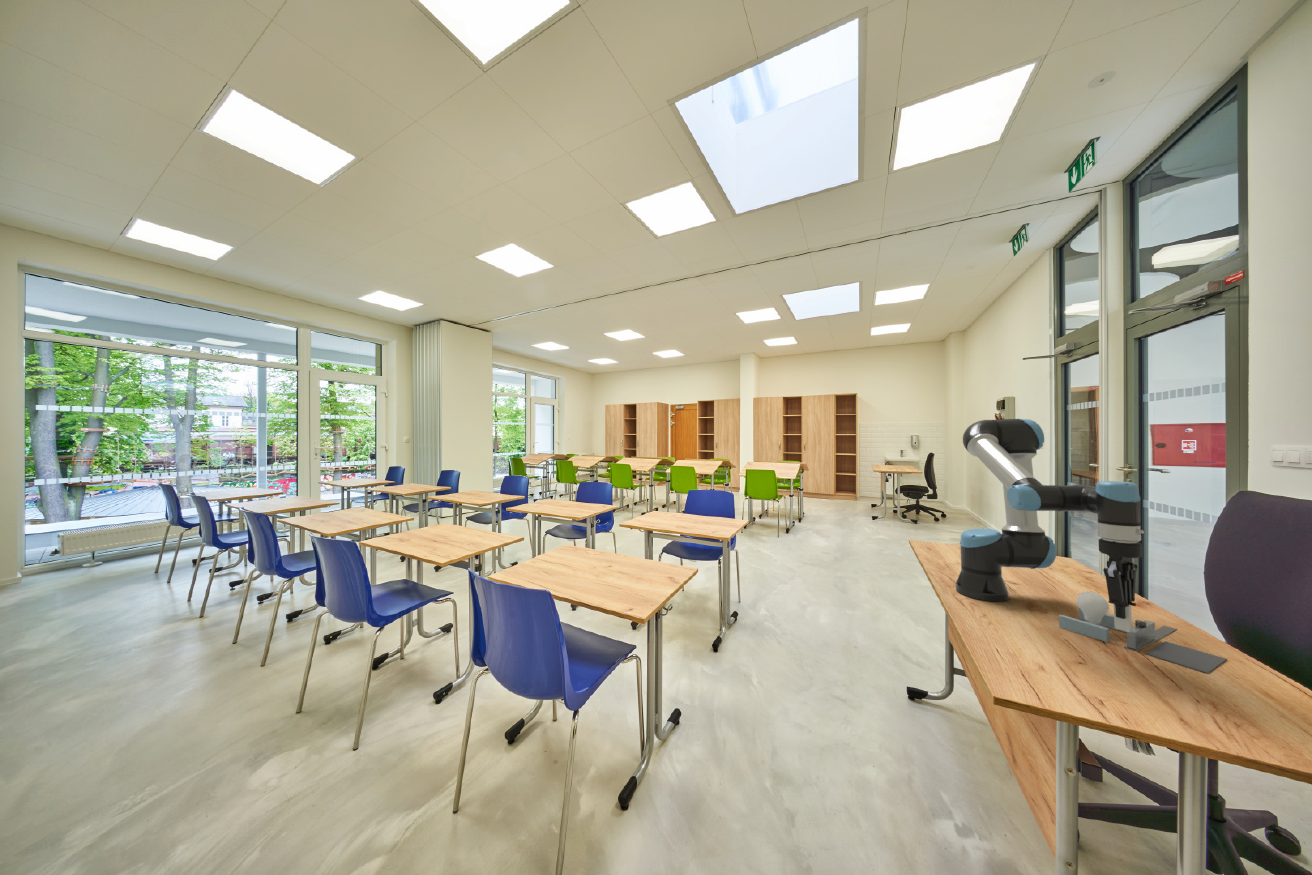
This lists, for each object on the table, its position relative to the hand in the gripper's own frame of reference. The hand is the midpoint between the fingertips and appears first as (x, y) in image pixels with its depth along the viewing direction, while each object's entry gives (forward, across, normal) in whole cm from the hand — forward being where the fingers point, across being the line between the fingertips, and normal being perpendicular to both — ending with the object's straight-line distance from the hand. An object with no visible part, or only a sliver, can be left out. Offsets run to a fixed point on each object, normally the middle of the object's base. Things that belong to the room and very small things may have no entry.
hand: (1123, 629), depth 105 cm
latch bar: (+7, +12, 0) cm, 14 cm away
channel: (+6, +12, +10) cm, 17 cm away
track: (+7, +19, 0) cm, 20 cm away
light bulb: (+7, +12, +10) cm, 17 cm away
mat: (+7, +12, -7) cm, 16 cm away
